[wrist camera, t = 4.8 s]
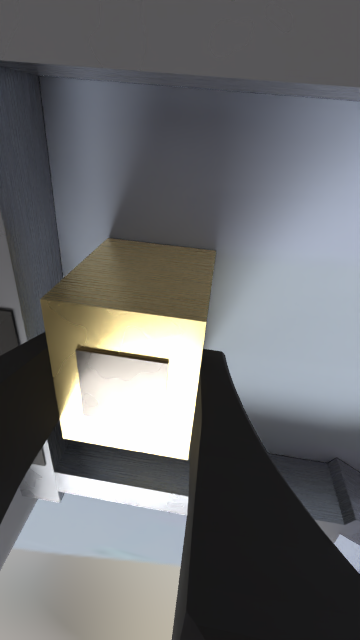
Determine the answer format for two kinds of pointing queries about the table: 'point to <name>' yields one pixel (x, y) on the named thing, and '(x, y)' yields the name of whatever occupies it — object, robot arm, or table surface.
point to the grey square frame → (38, 206)
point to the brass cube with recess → (130, 344)
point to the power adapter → (14, 523)
